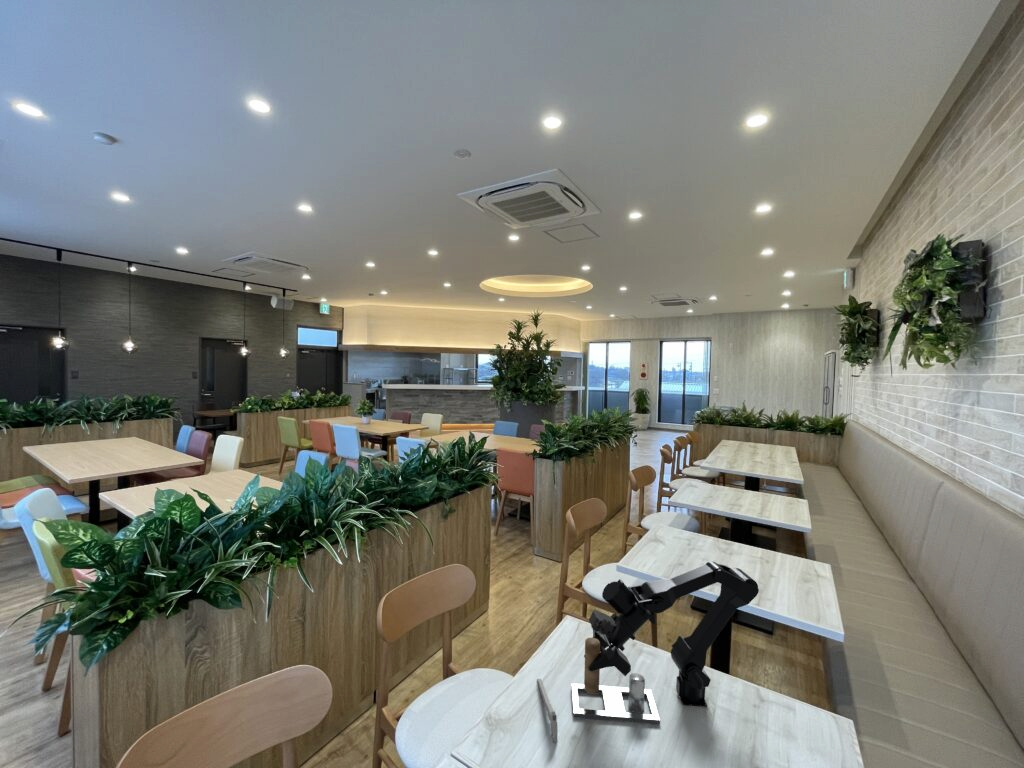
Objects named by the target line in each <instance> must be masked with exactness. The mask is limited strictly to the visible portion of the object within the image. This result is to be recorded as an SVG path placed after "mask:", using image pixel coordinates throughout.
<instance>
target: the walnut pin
mask: <svg viewBox="0 0 1024 768" xmlns="http://www.w3.org/2000/svg"><path fill="white" fill-rule="evenodd" d="M599 654H600V641H599V640H598V639H596V638H593V637H587V638H586V639H585V641H584V655H585V658H584V672H583V673H584V674H583V675H584V677H583V678H584V679H583V681H584V683H583V684H584V689H585V691H586V692H588V693H587V694H590V695H596V693H598V692H599V686H600V674H601V673H600V672H601V671H600V670H601V669H598V670H594V671H590V670H589V669H588V667H589V666H590V664H591V663H592V662H593V661H594V659H595V658H596V657H597V656H598V655H599Z"/></svg>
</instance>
